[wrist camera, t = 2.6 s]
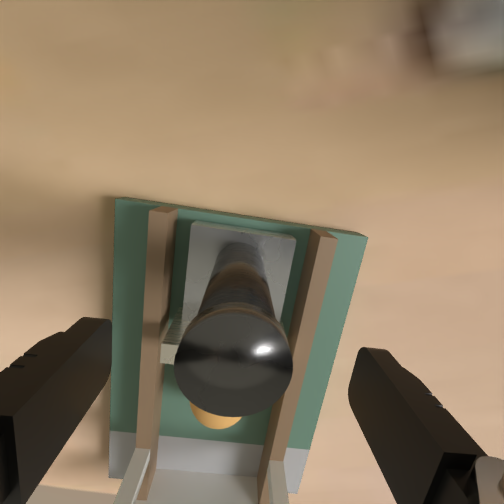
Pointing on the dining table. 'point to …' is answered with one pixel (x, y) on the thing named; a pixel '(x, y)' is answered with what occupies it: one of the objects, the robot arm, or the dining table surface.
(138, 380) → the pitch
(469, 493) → the robot arm
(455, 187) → the dining table surface
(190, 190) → the dining table surface
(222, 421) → the ball
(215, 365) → the slider
